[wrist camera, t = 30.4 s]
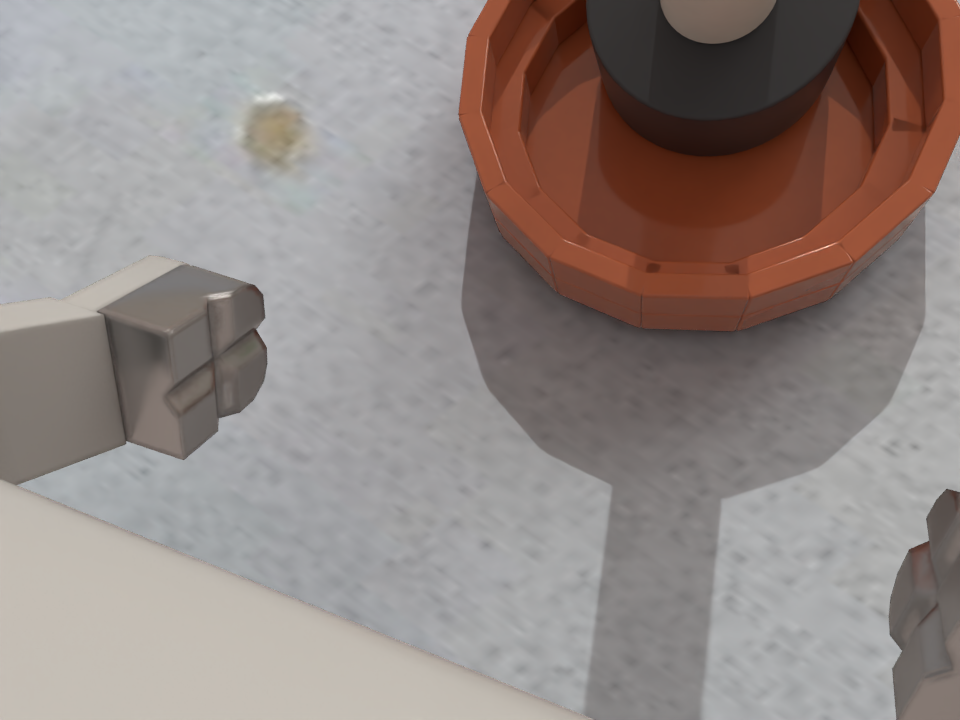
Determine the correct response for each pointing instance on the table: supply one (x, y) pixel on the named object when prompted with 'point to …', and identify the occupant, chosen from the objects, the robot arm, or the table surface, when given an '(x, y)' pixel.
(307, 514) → the table surface
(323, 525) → the table surface
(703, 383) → the table surface
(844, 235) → the dish
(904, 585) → the robot arm
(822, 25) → the brush
